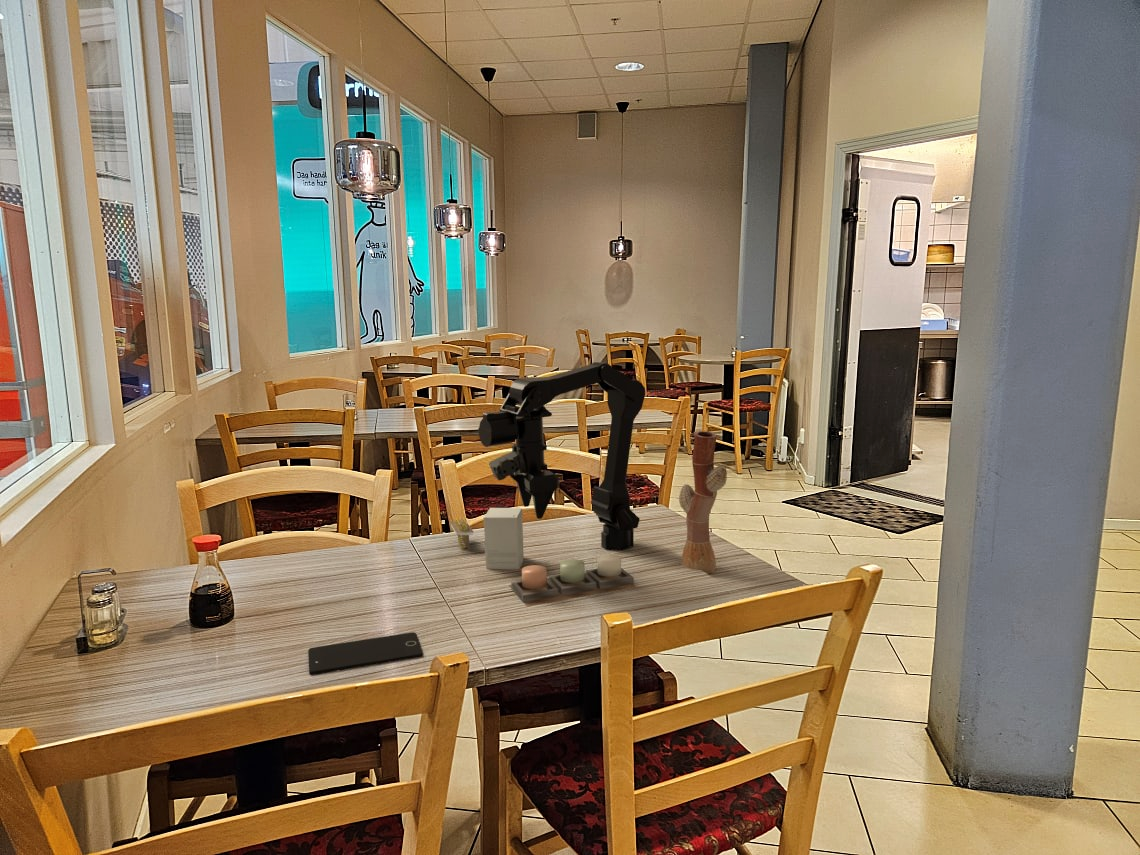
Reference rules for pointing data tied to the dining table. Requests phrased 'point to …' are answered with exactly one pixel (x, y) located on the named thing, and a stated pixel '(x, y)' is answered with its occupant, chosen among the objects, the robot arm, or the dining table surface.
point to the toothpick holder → (462, 532)
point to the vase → (701, 503)
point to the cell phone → (363, 653)
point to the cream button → (609, 565)
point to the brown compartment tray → (572, 587)
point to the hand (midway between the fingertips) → (532, 512)
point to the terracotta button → (534, 577)
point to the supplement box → (503, 538)
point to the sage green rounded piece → (572, 571)
